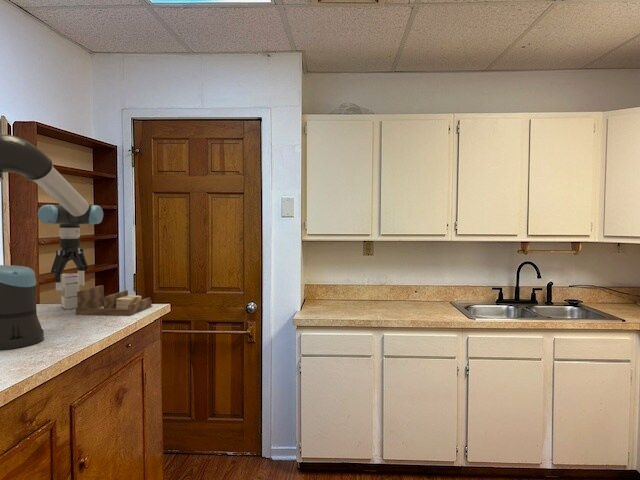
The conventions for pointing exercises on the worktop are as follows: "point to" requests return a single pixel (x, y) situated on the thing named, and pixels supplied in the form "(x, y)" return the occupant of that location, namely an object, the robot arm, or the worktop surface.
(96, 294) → the walnut rack
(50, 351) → the worktop surface
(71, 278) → the syrup box
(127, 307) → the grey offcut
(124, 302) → the birch offcut
